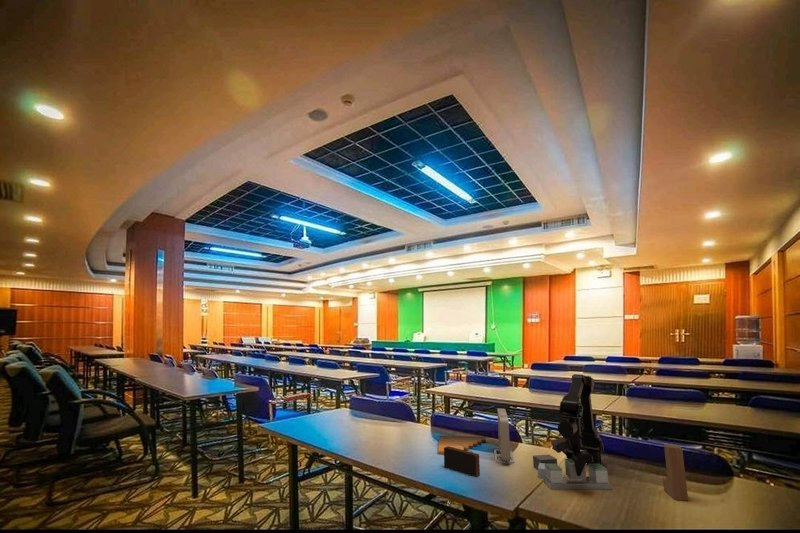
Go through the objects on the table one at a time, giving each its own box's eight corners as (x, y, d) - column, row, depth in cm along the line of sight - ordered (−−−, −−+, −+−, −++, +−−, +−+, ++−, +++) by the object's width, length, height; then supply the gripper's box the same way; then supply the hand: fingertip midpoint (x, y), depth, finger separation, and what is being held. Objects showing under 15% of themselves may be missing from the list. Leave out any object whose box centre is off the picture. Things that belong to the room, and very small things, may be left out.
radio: (480, 475, 160) (479, 437, 162) (476, 477, 158) (475, 439, 160) (444, 464, 172) (444, 430, 175) (440, 466, 170) (440, 431, 173)
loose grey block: (550, 466, 171) (549, 454, 171) (557, 471, 165) (556, 458, 166) (533, 467, 169) (532, 455, 170) (540, 472, 163) (540, 460, 164)
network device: (515, 466, 170) (513, 419, 173) (495, 465, 171) (493, 419, 175) (511, 449, 194) (509, 408, 198) (493, 448, 196) (491, 407, 199)
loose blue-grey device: (552, 474, 161) (551, 464, 162) (551, 480, 155) (550, 469, 156) (539, 472, 163) (539, 462, 164) (538, 478, 157) (538, 468, 158)
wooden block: (663, 489, 145) (658, 440, 148) (676, 491, 144) (671, 440, 147) (674, 500, 136) (668, 446, 139) (688, 501, 135) (682, 447, 138)
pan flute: (485, 442, 208) (439, 440, 211) (485, 435, 208) (439, 434, 211) (490, 457, 183) (438, 455, 186) (490, 450, 184) (438, 448, 187)
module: (580, 474, 152) (579, 458, 153) (586, 479, 148) (584, 462, 149) (565, 474, 152) (564, 458, 153) (570, 479, 148) (569, 462, 149)
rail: (601, 481, 153) (599, 463, 154) (610, 489, 146) (609, 469, 147) (544, 482, 153) (543, 463, 154) (550, 489, 146) (549, 469, 147)
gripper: (544, 426, 162) (546, 465, 159) (562, 438, 143) (565, 483, 141) (570, 425, 162) (573, 465, 159) (592, 438, 143) (595, 483, 141)
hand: (575, 473), depth 150 cm, fingers closed on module, 4 cm apart
